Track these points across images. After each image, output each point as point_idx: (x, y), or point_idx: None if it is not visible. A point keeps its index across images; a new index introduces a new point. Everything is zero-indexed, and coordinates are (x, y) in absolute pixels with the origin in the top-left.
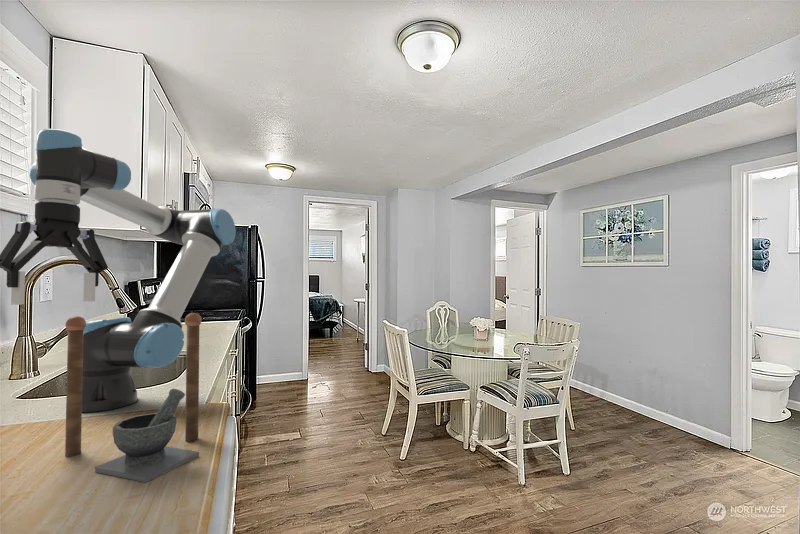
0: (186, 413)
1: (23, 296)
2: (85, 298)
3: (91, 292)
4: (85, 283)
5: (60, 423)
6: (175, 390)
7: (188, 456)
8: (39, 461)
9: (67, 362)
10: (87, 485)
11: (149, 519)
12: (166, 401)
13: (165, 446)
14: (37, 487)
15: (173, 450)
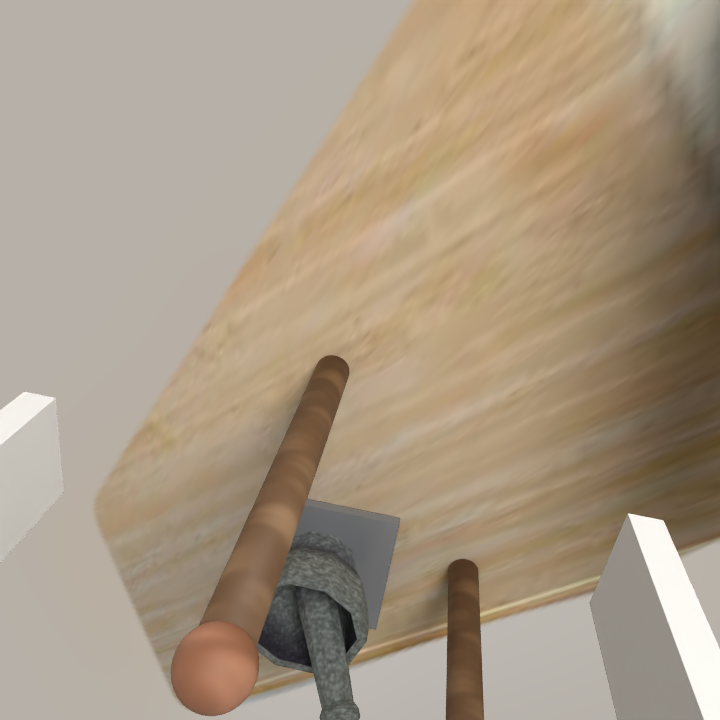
0: (449, 620)
1: (18, 532)
2: (627, 558)
3: (611, 676)
4: (675, 707)
5: (579, 58)
6: None
7: None
8: (278, 329)
9: (244, 525)
10: (219, 516)
11: (172, 654)
12: (319, 692)
13: (390, 558)
14: (186, 441)
15: (372, 584)
